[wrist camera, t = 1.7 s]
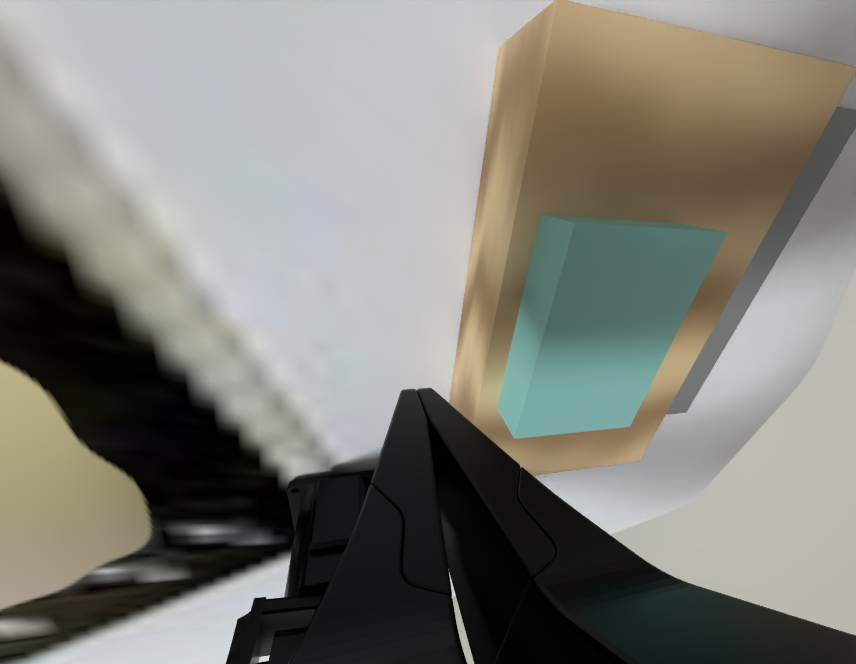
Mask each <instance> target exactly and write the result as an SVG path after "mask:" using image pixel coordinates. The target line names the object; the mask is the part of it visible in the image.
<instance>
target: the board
mask: <svg viewBox="0 0 856 664" xmlns="http://www.w3.org/2000/svg"><path fill="white" fill-rule="evenodd" d="M855 73H856V67H853V66H849V65H844V64H840V63H836V62H831V61H827V60H823V59H818V58H814V57H809V56H805V55H801V54H796V53H792V52H788V51H783V50H779V49H775V48H770V47H766V46H762V45H757V44H753V43H749V42H744V41H740V40H736V39H731V38H727V37H723V36H718V35H714V34H710V33H705V32H701V31H697V30H692V29H688V28H684V27H679V26H675V25H671V24H666V23H662V22H658V21H653V20H649V19H645V18H640V17H636V16H632V15H627V14H623V13H619V12H614V11H610V10H606V9H601V8H597V7H593V6H588V5H584V4H580V3H575V2H571V1H567V0H555V1H554V2H553V3H551V4H550V5H549V6H548V7H547V8H545V9H544V10H543V11H542V12H541V13H539V14H538V15H537V16H536V17H535V18H533V19H532V20H531V21H530V22H529V23H527V24H526V25H525V26H524V27H523V28H521V29H520V30H519V31H518V32H517V33H515V34H514V35H513V36H512V37H511V38H509V39H508V40H507V41H506V42H505V43H503V44H502V45H501V46H500V47H499V53H498V60H497V67H496V74H495V82H494V89H493V96H492V103H491V110H490V117H489V124H488V131H487V139H486V146H485V153H484V160H483V167H482V174H481V181H480V188H479V195H478V203H477V210H476V217H475V224H474V231H473V238H472V245H471V252H470V260H469V267H468V274H467V281H466V288H465V295H464V302H463V309H462V317H461V324H460V331H459V338H458V345H457V352H456V359H455V366H454V373H453V381H452V388H451V395H450V402H449V404H451V405H452V406H453V407H454V408H455V409H456V410H457V411H459V412H460V413H461V414H462V415H463V416H464V417H466V418H467V419H468V420H469V421H470V422H471V423H472V424H474V425H475V426H476V427H477V428H478V429H479V430H481V431H482V432H483V433H484V434H485V435H486V436H487V437H489V438H490V439H491V440H492V441H493V442H494V443H496V444H497V445H498V446H499V447H500V448H501V449H502V450H504V451H505V452H506V453H507V454H508V455H509V456H510V457H512V458H513V459H514V460H515V461H516V462H517V463H519V464H520V468H521V467H523V468H525V469H526V470H527V471H528V472H529V473H530V474H531V475H540V474H548V473H555V472H563V471H570V470H578V469H585V468H593V467H600V466H608V465H615V464H623V463H630V462H638V461H640V459H641V458H642V456H643V454H644V452H645V450H646V449H647V447H648V445H649V443H650V441H651V440H652V438H653V436H654V434H655V432H656V431H657V429H658V427H659V425H660V423H661V422H662V420H663V418H664V416H665V414H666V413H667V411H668V409H669V407H670V405H671V404H672V402H673V400H674V398H675V396H676V395H677V393H678V391H679V389H680V387H681V386H682V384H683V382H684V380H685V379H686V377H687V375H688V373H689V371H690V370H691V368H692V366H693V364H694V362H695V361H696V359H697V357H698V355H699V353H700V352H701V350H702V348H703V346H704V344H705V343H706V341H707V339H708V337H709V335H710V334H711V332H712V330H713V328H714V326H715V325H716V323H717V321H718V319H719V317H720V316H721V314H722V312H723V310H724V308H725V307H726V305H727V303H728V301H729V299H730V298H731V296H732V294H733V292H734V290H735V289H736V287H737V285H738V283H739V282H740V280H741V278H742V276H743V274H744V273H745V271H746V269H747V267H748V265H749V264H750V262H751V260H752V258H753V256H754V255H755V253H756V251H757V249H758V247H759V246H760V244H761V242H762V240H763V238H764V237H765V235H766V233H767V231H768V229H769V228H770V226H771V224H772V222H773V220H774V219H775V217H776V215H777V213H778V211H779V210H780V208H781V206H782V204H783V202H784V201H785V199H786V197H787V195H788V193H789V192H790V190H791V188H792V186H793V184H794V183H795V181H796V179H797V177H798V176H799V174H800V172H801V170H802V168H803V167H804V165H805V163H806V161H807V159H808V158H809V156H810V154H811V152H812V150H813V149H814V147H815V145H816V143H817V141H818V140H819V138H820V136H821V134H822V132H823V131H824V129H825V127H826V125H827V123H828V122H829V120H830V118H831V116H832V114H833V113H834V111H835V109H836V107H837V105H838V104H839V102H840V100H841V98H842V96H843V95H844V93H845V91H846V89H847V87H848V86H849V84H850V82H851V80H852V79H853V77H854V75H855ZM541 214H546V215H561V216H577V217H592V218H608V219H624V220H639V221H655V222H670V223H680V224H685V225H691V226H696V227H702V228H707V229H713V230H718V231H724V232H727V234H726V236H725V238H724V240H723V242H722V244H721V246H720V248H719V250H718V252H717V254H716V256H715V258H714V260H713V262H712V264H711V266H710V268H709V270H708V272H707V274H706V276H705V278H704V280H703V282H702V284H701V286H700V288H699V290H698V292H697V294H696V296H695V298H694V300H693V302H692V304H691V306H690V308H689V310H688V312H687V314H686V316H685V318H684V320H683V322H682V324H681V326H680V328H679V330H678V332H677V334H676V336H675V338H674V340H673V342H672V344H671V346H670V348H669V350H668V352H667V354H666V356H665V358H664V360H663V362H662V364H661V366H660V368H659V370H658V372H657V374H656V376H655V378H654V380H653V382H652V384H651V386H650V388H649V390H648V392H647V394H646V396H645V398H644V400H643V402H642V404H641V406H640V408H639V410H638V412H637V414H636V416H635V418H634V420H633V422H632V424H631V426H630V427H624V428H615V429H605V430H595V431H586V432H576V433H567V434H557V435H547V436H538V437H528V438H518V439H514V437H513V436H512V434H511V432H510V431H509V429H508V427H507V425H506V424H505V422H504V420H503V418H502V417H501V415H500V413H499V411H498V410H497V404H498V400H499V395H500V391H501V387H502V382H503V378H504V374H505V369H506V365H507V361H508V356H509V352H510V348H511V343H512V339H513V335H514V330H515V326H516V322H517V317H518V313H519V309H520V304H521V300H522V296H523V291H524V287H525V283H526V278H527V274H528V270H529V265H530V261H531V257H532V252H533V248H534V244H535V239H536V235H537V231H538V226H539V222H540V218H541Z"/></svg>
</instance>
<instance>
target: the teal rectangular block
mask: <svg viewBox="0 0 856 664" xmlns="http://www.w3.org/2000/svg"><path fill="white" fill-rule="evenodd" d="M726 234H727V232H724V231H718V230H713V229H707V228H702V227H696V226H691V225H685V224H680V223H670V222H655V221H639V220H624V219H608V218H592V217H577V216H561V215H546V214H541V218H540V222H539V226H538V231H537V235H536V239H535V244H534V248H533V252H532V257H531V261H530V265H529V270H528V274H527V278H526V283H525V287H524V291H523V296H522V300H521V304H520V309H519V313H518V317H517V322H516V326H515V330H514V335H513V339H512V343H511V348H510V352H509V356H508V361H507V365H506V369H505V374H504V378H503V382H502V387H501V391H500V395H499V400H498V404H497V410H498V411H499V413H500V415H501V417H502V418H503V420H504V422H505V424H506V425H507V427H508V429H509V431H510V432H511V434H512V436H513V437H514V439H518V438H528V437H538V436H547V435H557V434H567V433H576V432H586V431H595V430H605V429H615V428H624V427H630V426H631V424H632V422H633V420H634V418H635V416H636V414H637V412H638V410H639V408H640V406H641V404H642V402H643V400H644V398H645V396H646V394H647V392H648V390H649V388H650V386H651V384H652V382H653V380H654V378H655V376H656V374H657V372H658V370H659V368H660V366H661V364H662V362H663V360H664V358H665V356H666V354H667V352H668V350H669V348H670V346H671V344H672V342H673V340H674V338H675V336H676V334H677V332H678V330H679V328H680V326H681V324H682V322H683V320H684V318H685V316H686V314H687V312H688V310H689V308H690V306H691V304H692V302H693V300H694V298H695V296H696V294H697V292H698V290H699V288H700V286H701V284H702V282H703V280H704V278H705V276H706V274H707V272H708V270H709V268H710V266H711V264H712V262H713V260H714V258H715V256H716V254H717V252H718V250H719V248H720V246H721V244H722V242H723V240H724V238H725V236H726Z"/></svg>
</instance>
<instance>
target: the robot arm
mask: <svg viewBox="0 0 856 664" xmlns="http://www.w3.org/2000/svg"><path fill="white" fill-rule="evenodd" d="M287 494H288V499H289V504H290V509H291V515H292V520H293V525H294V530H295V536H294V542H293V548H292V554H291V560H290V566H289V572H288V578H287V584H286V590H285V596H284V598H274V599H266V597H262V598H254V601H253V605H252V608H251V612H249V613H248V614H246V615H245V616H243V617H241V618H239V619H238V620H237V624H236V628H235V632H234V636H233V640H232V643H231V647H230V651H229V655H228V658H227V661H226V664H467V662H466V659H465V656H464V652H463V649H462V646H461V642H460V638H459V633H458V629H457V624H456V619H455V612H454V606H453V600H452V598H451V597H452V591H451V584H450V577H449V572H450V575H451V579H452V583H453V587H454V590H455V594H456V598H457V601H458V605H459V609H460V612H461V616H462V619H463V623H464V627H465V630H466V634H467V638H468V642H469V645H470V649H471V653H472V656H473V660H474V664H856V635H852V634H849V633H846V632H843V631H839V630H836V629H833V628H830V627H826V626H823V625H820V624H817V623H814V622H810V621H807V620H804V619H801V618H798V617H795V616H791V615H788V614H785V613H782V612H779V611H776V610H772V609H769V608H766V607H763V606H760V605H756V604H753V603H750V602H747V601H744V600H741V599H737V598H734V597H731V596H728V595H725V594H721V593H718V592H715V591H712V590H709V589H706V588H702V587H699V586H696V585H693V584H690V583H687V582H684V581H682V580H680V579H677V578H675V577H673V576H671V575H669V574H667V573H665V572H663V571H661V570H660V569H658V568H656V567H655V566H653V565H651V564H650V563H648V562H646V561H645V560H643V559H642V558H641V557H639V556H638V555H637V554H635V553H634V552H632V551H631V550H630V549H628V548H627V547H626V546H624V545H623V544H622V543H620V542H619V541H617V540H616V539H615V538H613V537H612V536H611V535H609V534H608V533H607V532H605V531H604V530H602V529H601V528H600V527H598V526H597V525H596V524H594V523H593V522H591V521H590V520H589V519H587V518H586V517H585V516H583V515H582V514H581V513H579V512H578V511H577V510H575V509H574V508H573V507H571V506H570V505H569V504H567V503H566V502H565V501H563V500H562V499H561V498H559V497H558V496H557V495H555V494H554V493H553V492H552V491H551V490H549V489H548V488H547V487H546V486H545V485H543V484H542V483H541V482H540V481H539V480H537V479H536V478H535V477H534V476H533V475H531V474H530V473H529V472H528V471H527V470H526V469H525V468H523V467H521V468H520V464H519V463H517V462H516V461H515V460H514V459H513V458H512V457H510V456H509V455H508V454H507V453H506V452H505V451H504V450H502V449H501V448H500V447H499V446H498V445H497V444H496V443H494V442H493V441H492V440H491V439H490V438H489V437H487V436H486V435H485V434H484V433H483V432H482V431H481V430H479V429H478V428H477V427H476V426H475V425H474V424H472V423H471V422H470V421H469V420H468V419H467V418H466V417H464V416H463V415H462V414H461V413H460V412H459V411H457V410H456V409H455V408H454V407H453V406H452V405H451V404H449V403H448V402H447V401H446V400H445V399H444V398H442V397H441V396H440V395H439V394H438V393H437V392H436V391H434V390H433V389H432V388H422V389H418V390H415V389H406V390H402V391H401V393H400V396H399V399H398V402H397V405H396V408H395V411H394V414H393V417H392V420H391V423H390V426H389V429H388V432H387V435H386V438H385V441H384V444H383V447H382V450H381V453H380V456H379V460H378V463H377V466H376V469H375V471H369V472H360V473H352V474H343V475H335V476H326V477H317V478H309V479H300V480H294V481H291V482H290V483H289V484H288V489H287ZM448 568H449V570H448ZM268 655H270V657H269V661H266V662H260V663H258V662H259V657H261V656H268Z"/></svg>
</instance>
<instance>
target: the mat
mask: <svg viewBox="0 0 856 664" xmlns="http://www.w3.org/2000/svg"><path fill="white" fill-rule="evenodd" d="M855 127H856V110H851V109H846V108H840V107H836V109H835V111H834V113H833V114H832V116H831V118H830V120H829V122H828V123H827V125H826V127H825V129H824V131H823V132H822V134H821V136H820V138H819V140H818V141H817V143H816V145H815V147H814V149H813V150H812V152H811V154H810V156H809V158H808V159H807V161H806V163H805V165H804V167H803V168H802V170H801V172H800V174H799V176H798V177H797V179H796V181H795V183H794V184H793V186H792V188H791V190H790V192H789V193H788V195H787V197H786V199H785V201H784V202H783V204H782V206H781V208H780V210H779V211H778V213H777V215H776V217H775V219H774V220H773V222H772V224H771V226H770V228H769V229H768V231H767V233H766V235H765V237H764V238H763V240H762V242H761V244H760V246H759V247H758V249H757V251H756V253H755V255H754V256H753V258H752V260H751V262H750V264H749V265H748V267H747V269H746V271H745V273H744V274H743V276H742V278H741V280H740V282H739V283H738V285H737V287H736V289H735V290H734V292H733V294H732V296H731V298H730V299H729V301H728V303H727V305H726V307H725V308H724V310H723V312H722V314H721V316H720V317H719V319H718V321H717V323H716V325H715V326H714V328H713V330H712V332H711V334H710V335H709V337H708V339H707V341H706V343H705V344H704V346H703V348H702V350H701V352H700V353H699V355H698V357H697V359H696V361H695V362H694V364H693V366H692V368H691V370H690V371H689V373H688V375H687V377H686V379H685V380H684V382H683V384H682V386H681V387H680V389H679V391H678V393H677V395H676V396H675V398H674V400H673V402H672V404H671V405H670V407H669V409H668V411H667V413H666V414H676V413H686V412H687V410H688V408H689V407H690V405H691V403H692V402H693V400H694V398H695V397H696V395H697V393H698V392H699V390H700V388H701V387H702V385H703V383H704V382H705V380H706V378H707V377H708V375H709V373H710V371H711V370H712V368H713V366H714V365H715V363H716V361H717V360H718V358H719V356H720V355H721V353H722V351H723V350H724V348H725V346H726V345H727V343H728V341H729V339H730V338H731V336H732V334H733V333H734V331H735V329H736V328H737V326H738V324H739V323H740V321H741V319H742V318H743V316H744V314H745V313H746V311H747V309H748V307H749V306H750V304H751V302H752V301H753V299H754V297H755V296H756V294H757V292H758V291H759V289H760V287H761V286H762V284H763V282H764V281H765V279H766V277H767V275H768V274H769V272H770V270H771V269H772V267H773V265H774V264H775V262H776V260H777V259H778V257H779V255H780V254H781V252H782V250H783V249H784V247H785V245H786V243H787V242H788V240H789V238H790V237H791V235H792V233H793V232H794V230H795V228H796V227H797V225H798V223H799V222H800V220H801V218H802V217H803V215H804V213H805V211H806V210H807V208H808V206H809V205H810V203H811V201H812V200H813V198H814V196H815V195H816V193H817V191H818V190H819V188H820V186H821V185H822V183H823V181H824V180H825V178H826V176H827V174H828V173H829V171H830V169H831V168H832V166H833V164H834V163H835V161H836V159H837V158H838V156H839V154H840V153H841V151H842V149H843V148H844V146H845V144H846V142H847V141H848V139H849V137H850V136H851V134H852V132H853V131H854V129H855ZM666 414H665V415H666Z"/></svg>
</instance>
